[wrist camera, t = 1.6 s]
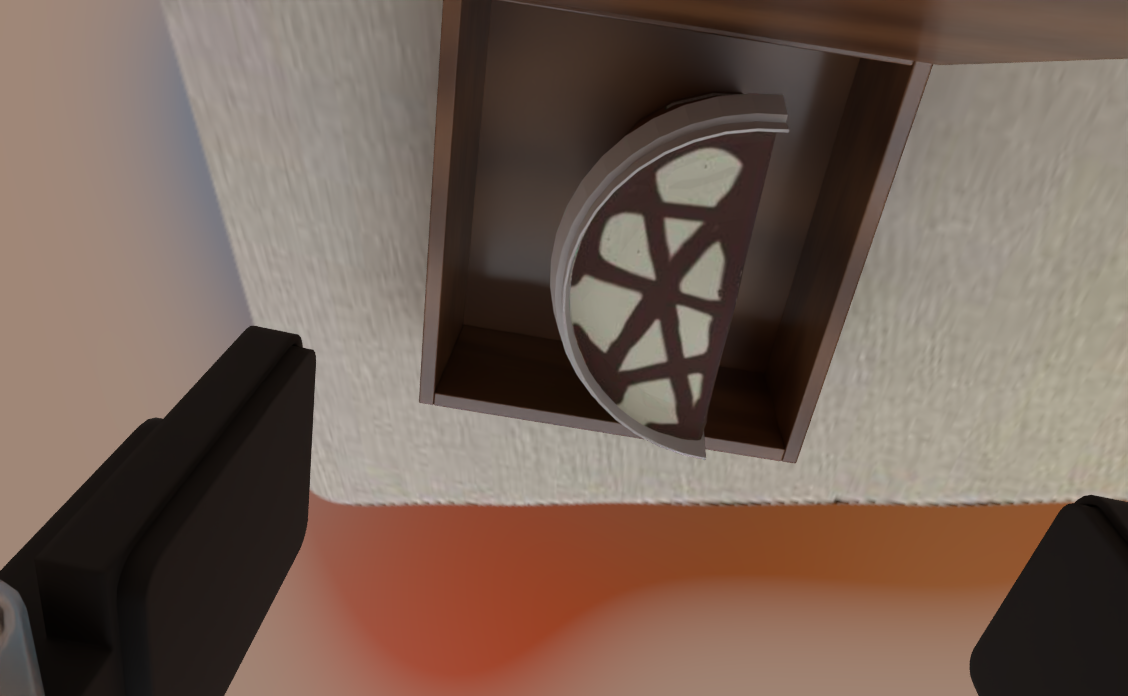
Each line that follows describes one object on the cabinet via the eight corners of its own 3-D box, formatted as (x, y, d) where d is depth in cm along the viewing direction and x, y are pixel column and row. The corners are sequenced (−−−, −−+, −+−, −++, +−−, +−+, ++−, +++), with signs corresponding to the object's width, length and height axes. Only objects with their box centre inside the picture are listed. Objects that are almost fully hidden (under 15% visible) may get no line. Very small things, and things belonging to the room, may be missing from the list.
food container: (589, 29, 31) (569, 78, 22) (751, 52, 31) (794, 109, 22) (552, 317, 37) (525, 446, 28) (688, 337, 37) (702, 472, 28)
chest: (772, 379, 38) (796, 464, 32) (452, 328, 38) (418, 403, 32) (882, 22, 30) (939, 48, 25) (481, -42, 30) (444, -30, 25)
